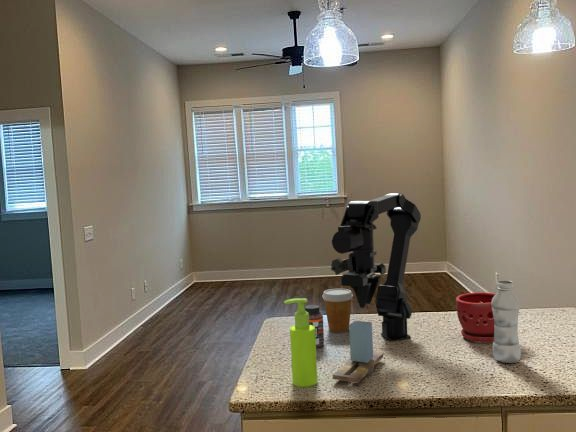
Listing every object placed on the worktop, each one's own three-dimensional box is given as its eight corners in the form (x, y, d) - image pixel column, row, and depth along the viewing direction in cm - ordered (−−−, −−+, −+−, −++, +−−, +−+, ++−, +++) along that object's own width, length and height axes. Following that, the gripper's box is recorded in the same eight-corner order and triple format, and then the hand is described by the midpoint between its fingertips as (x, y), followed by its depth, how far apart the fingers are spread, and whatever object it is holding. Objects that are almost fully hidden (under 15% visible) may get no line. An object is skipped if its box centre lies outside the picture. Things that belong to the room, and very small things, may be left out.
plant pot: (480, 328, 157) (479, 289, 156) (516, 340, 145) (515, 297, 144) (447, 336, 151) (446, 295, 150) (481, 349, 139) (480, 305, 138)
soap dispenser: (287, 378, 126) (283, 297, 124) (315, 376, 126) (311, 295, 125) (289, 388, 120) (284, 303, 118) (319, 385, 120) (315, 300, 119)
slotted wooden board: (360, 357, 137) (360, 349, 137) (383, 361, 134) (383, 352, 134) (332, 383, 121) (332, 374, 121) (358, 387, 118) (357, 378, 118)
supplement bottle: (322, 348, 146) (321, 309, 145) (301, 348, 147) (299, 309, 146) (325, 342, 151) (323, 303, 151) (305, 341, 153) (303, 303, 152)
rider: (356, 359, 132) (355, 320, 131) (373, 361, 130) (371, 322, 129) (350, 365, 129) (349, 324, 128) (367, 367, 127) (366, 326, 126)
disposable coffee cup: (336, 323, 170) (335, 286, 169) (360, 328, 163) (358, 290, 162) (317, 330, 163) (315, 292, 162) (341, 335, 156) (339, 296, 155)
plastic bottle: (509, 368, 125) (507, 286, 123) (486, 360, 131) (484, 281, 129) (527, 362, 128) (525, 282, 126) (504, 354, 134) (502, 278, 132)
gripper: (348, 242, 150) (350, 295, 152) (320, 252, 134) (323, 312, 135) (385, 243, 145) (387, 298, 146) (361, 253, 129) (363, 315, 130)
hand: (365, 305), depth 139 cm, fingers open, 4 cm apart
